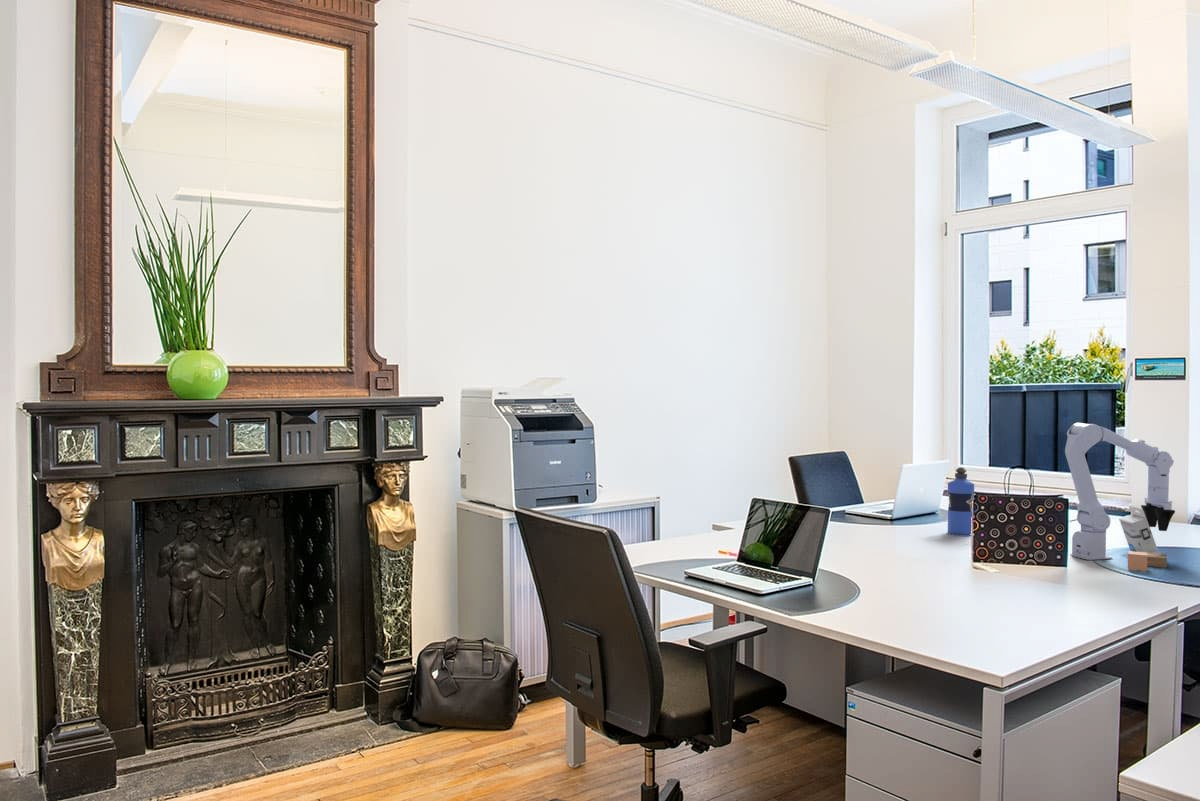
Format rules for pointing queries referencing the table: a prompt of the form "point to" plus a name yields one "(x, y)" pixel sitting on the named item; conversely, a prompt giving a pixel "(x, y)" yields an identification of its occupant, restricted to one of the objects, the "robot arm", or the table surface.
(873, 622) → the table surface
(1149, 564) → the walnut slab
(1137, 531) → the ink box
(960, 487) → the water bottle
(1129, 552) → the terracotta cube
